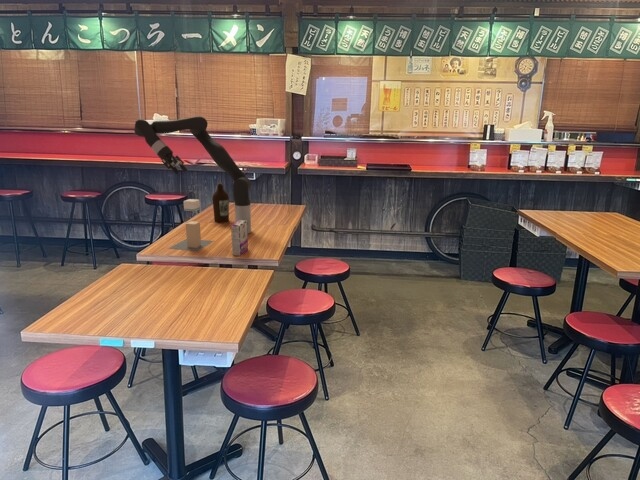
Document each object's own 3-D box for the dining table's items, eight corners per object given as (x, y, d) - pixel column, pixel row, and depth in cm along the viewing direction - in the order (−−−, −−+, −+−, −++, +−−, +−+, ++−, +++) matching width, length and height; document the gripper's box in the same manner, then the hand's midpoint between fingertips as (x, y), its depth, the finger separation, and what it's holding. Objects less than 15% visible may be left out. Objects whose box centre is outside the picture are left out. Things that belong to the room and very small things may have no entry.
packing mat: (186, 240, 277) (186, 238, 277) (214, 242, 273) (214, 241, 273) (168, 250, 259) (168, 248, 258) (197, 253, 255) (197, 251, 255)
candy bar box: (239, 249, 262) (238, 219, 258) (248, 250, 261) (247, 220, 257) (231, 255, 252) (230, 224, 247) (240, 256, 251) (239, 225, 246)
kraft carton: (192, 244, 267) (190, 221, 263) (201, 245, 265) (199, 221, 262) (187, 247, 261) (185, 223, 258) (196, 247, 260) (195, 224, 257)
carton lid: (189, 208, 261) (189, 198, 260) (200, 208, 260) (199, 199, 259) (183, 210, 256) (183, 201, 254) (194, 211, 254) (194, 201, 253)
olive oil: (210, 220, 323) (208, 183, 316) (224, 218, 330) (222, 181, 323) (219, 223, 315) (217, 185, 308) (233, 221, 322) (231, 183, 315)
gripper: (158, 146, 259) (179, 169, 260) (173, 144, 272) (192, 165, 273) (150, 156, 262) (171, 178, 262) (165, 153, 275) (184, 174, 276)
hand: (182, 172), depth 268 cm, fingers open, 8 cm apart
